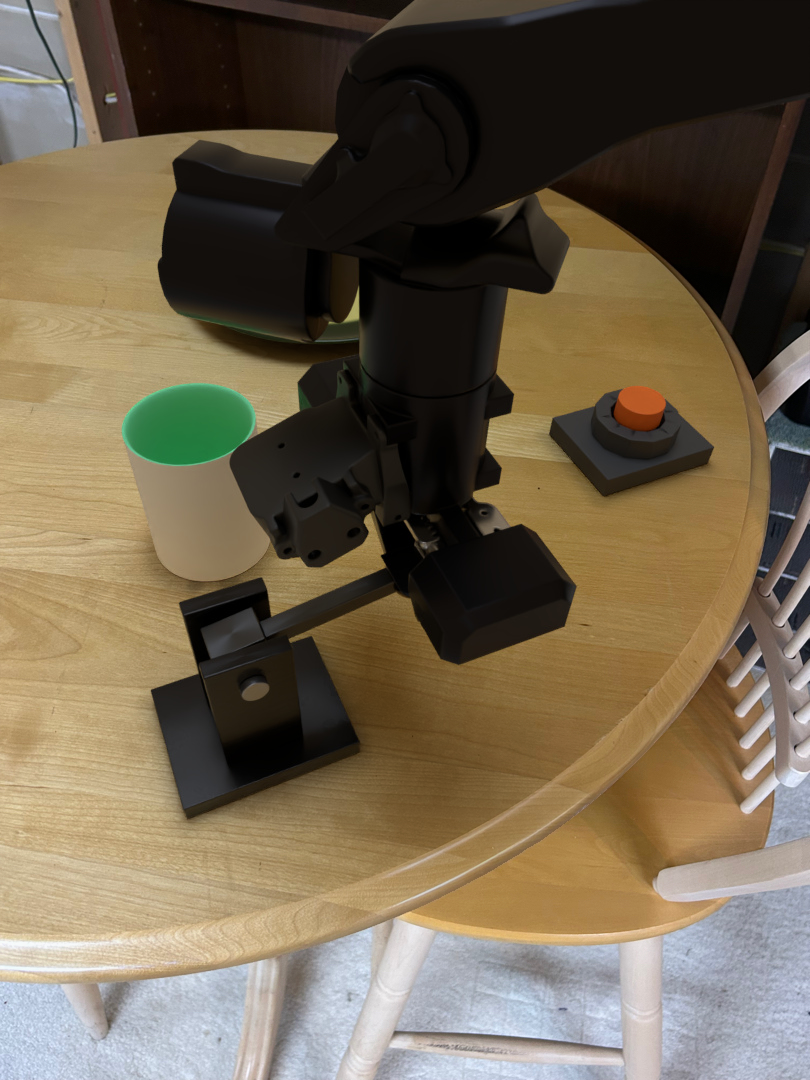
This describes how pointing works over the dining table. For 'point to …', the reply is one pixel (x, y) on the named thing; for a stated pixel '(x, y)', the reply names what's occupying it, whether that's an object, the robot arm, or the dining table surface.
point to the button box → (627, 446)
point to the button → (639, 408)
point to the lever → (298, 613)
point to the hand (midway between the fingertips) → (412, 595)
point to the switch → (248, 709)
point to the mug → (194, 479)
